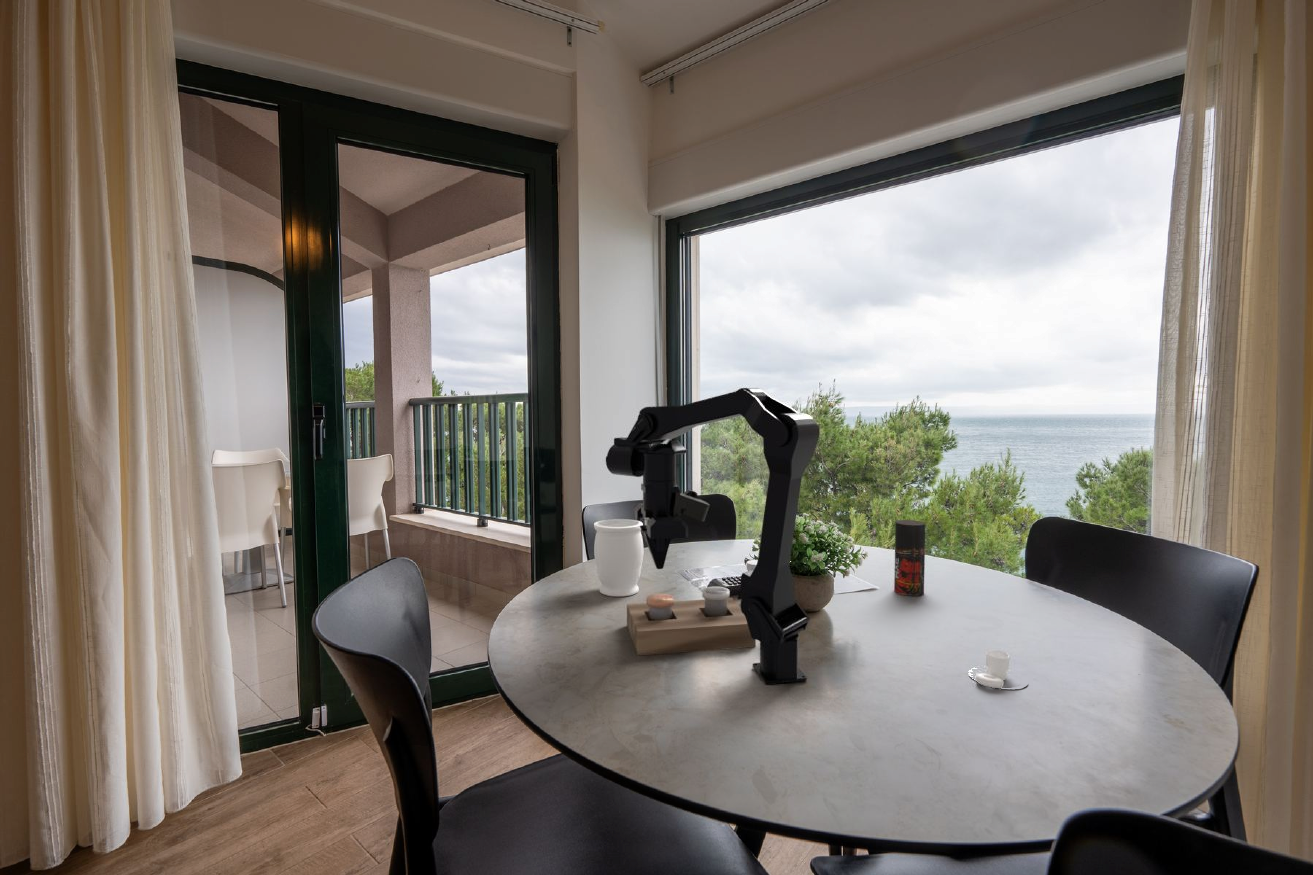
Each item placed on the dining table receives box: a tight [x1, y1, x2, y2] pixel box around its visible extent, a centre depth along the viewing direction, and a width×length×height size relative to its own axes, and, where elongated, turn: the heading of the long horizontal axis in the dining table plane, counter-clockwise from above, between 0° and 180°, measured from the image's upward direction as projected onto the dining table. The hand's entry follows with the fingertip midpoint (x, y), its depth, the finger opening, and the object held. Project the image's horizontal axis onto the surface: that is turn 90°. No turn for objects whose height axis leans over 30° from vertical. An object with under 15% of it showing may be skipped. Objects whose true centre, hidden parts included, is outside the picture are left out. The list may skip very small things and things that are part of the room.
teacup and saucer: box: [967, 649, 1011, 689], centre depth 96 cm, size 9×8×4 cm
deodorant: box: [893, 519, 926, 597], centre depth 138 cm, size 6×6×15 cm
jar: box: [593, 518, 644, 598], centre depth 139 cm, size 11×10×15 cm
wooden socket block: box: [626, 597, 757, 656], centre depth 114 cm, size 14×20×4 cm
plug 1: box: [645, 593, 675, 621], centre depth 113 cm, size 5×5×4 cm
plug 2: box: [701, 586, 731, 617], centre depth 114 cm, size 5×5×4 cm
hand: (659, 568), depth 112 cm, fingers closed
